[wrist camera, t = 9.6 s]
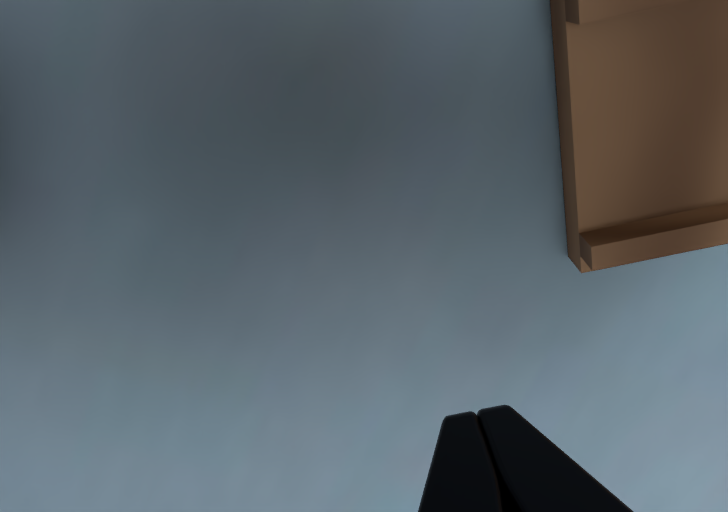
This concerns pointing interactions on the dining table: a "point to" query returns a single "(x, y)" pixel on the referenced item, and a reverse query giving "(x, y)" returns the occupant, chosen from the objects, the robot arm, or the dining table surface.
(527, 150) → the dining table surface
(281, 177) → the dining table surface
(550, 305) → the dining table surface
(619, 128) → the rail
